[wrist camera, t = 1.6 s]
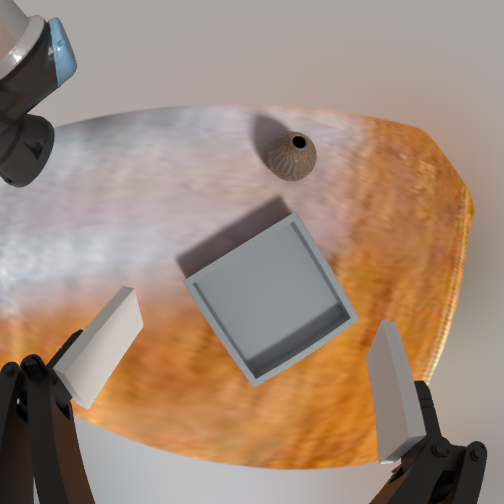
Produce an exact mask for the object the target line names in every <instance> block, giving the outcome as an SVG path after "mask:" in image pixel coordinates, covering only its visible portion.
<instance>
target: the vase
mask: <svg viewBox="0 0 504 504" xmlns="http://www.w3.org/2000/svg"><path fill="white" fill-rule="evenodd" d="M268 163H269V166H270V168H271V170H272V171H273V173H274V174H275V175H276V176H278V177H279V178H281V179H283V180H287V181H296V180H300V179H302V178H304V177H306V176H307V175H308V174H309V173H310V172H311V171H312V169H313V168H314V166H315V163H316V149H315V146H314V144H313V142H312V141H311V140H310V139H309V138H308V137H307V136H305V135H304V134H302V133H299V132H286V133H283V134H281V135H279V136H278V137H277V138H276V139H275V140H274V141H273V142H272V143H271V145H270V147H269V151H268Z"/></svg>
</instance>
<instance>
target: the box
mask: <svg viewBox="0 0 504 504" xmlns="http://www.w3.org/2000/svg"><path fill="white" fill-rule="evenodd" d="M183 283H184V285H185V286H186V288H187V290H188V291H189V293H190V294H191V296H192V298H193V299H194V301H195V302H196V304H197V306H198V307H199V309H200V310H201V312H202V313H203V315H204V317H205V318H206V320H207V321H208V323H209V324H210V326H211V327H212V329H213V330H214V332H215V333H216V335H217V336H218V338H219V339H220V341H221V342H222V344H223V345H224V347H225V348H226V350H227V351H228V353H229V354H230V355H231V357H232V358H233V360H234V361H235V363H236V364H237V365H238V367H239V368H240V370H241V371H242V372H243V374H244V375H245V377H246V378H247V379H248V381H249V382H250V383H251V385H252V386H253V387H256V386H257V385H259V384H261V383H263V382H264V381H266V380H268V379H270V378H271V377H273V376H275V375H277V374H278V373H280V372H282V371H283V370H285V369H287V368H288V367H290V366H292V365H293V364H295V363H296V362H298V361H300V360H301V359H303V358H304V357H306V356H307V355H309V354H311V353H312V352H314V351H315V350H317V349H318V348H320V347H321V346H323V345H324V344H326V343H327V342H329V341H330V340H331V339H333V338H334V337H336V336H337V335H339V334H340V333H341V332H343V331H344V330H346V329H347V328H348V327H350V326H351V325H353V324H354V323H355V322H357V321H358V320H359V318H358V316H357V314H356V312H355V311H354V309H353V307H352V305H351V303H350V301H349V300H348V298H347V296H346V294H345V292H344V291H343V289H342V287H341V285H340V284H339V282H338V280H337V278H336V277H335V275H334V273H333V271H332V270H331V268H330V266H329V265H328V263H327V261H326V259H325V258H324V256H323V254H322V253H321V251H320V249H319V248H318V246H317V244H316V243H315V241H314V239H313V238H312V236H311V235H310V233H309V231H308V230H307V228H306V226H305V225H304V223H303V222H302V220H301V218H300V217H299V215H298V214H297V212H294V213H292V214H291V215H289V216H287V217H286V218H284V219H282V220H281V221H279V222H278V223H276V224H274V225H273V226H271V227H269V228H268V229H266V230H264V231H263V232H261V233H260V234H258V235H256V236H255V237H253V238H251V239H250V240H248V241H247V242H245V243H243V244H242V245H240V246H238V247H237V248H235V249H234V250H232V251H230V252H229V253H227V254H226V255H224V256H222V257H221V258H219V259H217V260H216V261H214V262H213V263H211V264H209V265H208V266H206V267H205V268H203V269H201V270H200V271H198V272H197V273H195V274H193V275H192V276H190V277H189V278H187V279H185V280H184V281H183Z"/></svg>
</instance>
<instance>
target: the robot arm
mask: <svg viewBox="0 0 504 504" xmlns="http://www.w3.org/2000/svg"><path fill="white" fill-rule="evenodd" d="M76 69H77V63H76V60H75V56H74V53H73V50H72V48H71V45H70V42H69V40H68V37H67V35H66V32H65V30H64V28H63V25H62V23H61V21H60V20H59V19H58V18H53V19H50V20H49V21H48V22H46V21H45V20H44V19H43V18H42V17H41V16H38V15H37V16H31V17H27V16H26V15H25V14H24V13H23V12H22V10H21V9H20V8H19V7H18V6H17V5H16V3H15V2H14V1H13V0H0V176H1V177H2V179H3V180H4V181H5V182H6V183H8V184H9V185H12V186H15V187H23V186H26V185H28V184H29V183H31V182H32V181H33V180H34V179H35V178H36V177H37V176H38V175H39V173H40V172H41V171H42V169H43V168H44V166H45V164H46V162H47V160H48V158H49V156H50V153H51V150H52V147H53V142H54V130H53V127H52V125H51V123H50V122H49V121H47V120H46V119H45V118H43V117H41V116H35V115H31V114H27V113H28V112H29V111H30V110H31V109H32V108H34V107H35V106H36V105H37V104H38V103H39V102H41V101H42V100H43V99H44V98H46V97H47V96H48V95H49V94H51V93H52V92H53V91H55V90H56V89H57V88H59V87H60V86H61V85H62V84H63V83H64V82H65V81H66V80H68V79H69V78H70V77H71V76H72V75H73V74H74V72H75V71H76ZM142 327H143V322H142V318H141V314H140V310H139V306H138V302H137V298H136V293H135V289H134V288H129V287H125V286H123V287H122V288H121V289H120V291H119V292H118V293H117V294H116V295H115V296H114V297H113V298H112V299H111V300H110V301H109V303H108V304H107V305H106V306H105V307H104V308H103V309H102V310H101V311H100V313H99V314H98V315H97V316H96V317H95V318H94V319H93V321H92V322H91V323H90V324H89V325H88V326H87V327H86V329H85V330H84V331H83V330H81V329H80V330H78V331H77V332H75V333H74V334H72V335H71V336H70V338H69V339H68V340H67V342H65V343H64V345H63V346H62V348H60V349H59V351H58V352H57V353H56V354H55V355H54V357H53V358H52V359H51V360H50V362H49V363H48V364H47V365H46V366H45V364H44V362H43V361H42V359H41V358H40V356H38V355H36V354H31V355H28V356H27V357H25V358H24V359H23V360H22V362H21V364H20V367H19V365H18V364H17V363H16V362H8V363H6V364H5V365H4V366H3V368H2V370H1V372H0V504H34V499H33V483H34V479H35V484H36V489H37V494H38V498H39V502H40V504H95V501H94V499H93V495H92V492H91V489H90V486H89V483H88V480H87V476H86V473H85V469H84V465H83V461H82V457H81V453H80V449H79V444H78V439H77V434H76V429H75V423H74V417H73V410H72V405H71V402H70V400H71V399H72V397H73V399H74V400H75V402H76V403H77V404H78V405H80V406H82V407H84V408H86V409H88V410H89V408H90V407H91V405H92V403H93V402H94V400H95V399H96V397H97V395H98V394H99V392H100V391H101V389H102V388H103V386H104V384H105V383H106V381H107V380H108V378H109V377H110V375H111V374H112V372H113V370H114V369H115V367H116V366H117V364H118V363H119V361H120V360H121V358H122V357H123V355H124V354H125V352H126V351H127V349H128V348H129V346H130V345H131V343H132V342H133V340H134V339H135V337H136V336H137V335H138V333H139V332H140V330H141V329H142ZM366 359H367V364H368V370H369V377H370V383H371V390H372V397H373V405H374V413H375V422H376V431H377V442H378V455H379V464H386V463H394V462H396V461H397V460H398V459H400V458H401V464H400V465H399V466H398V467H397V468H395V469H394V470H393V471H392V473H394V474H393V475H392V476H391V478H390V479H389V480H388V482H387V483H386V484H385V485H384V487H383V488H382V489H381V490H380V492H379V493H378V494H377V495H376V496H375V498H374V499H373V500H372V501H371V502H370V503H369V504H477V501H478V497H479V493H480V489H481V485H482V481H483V476H484V471H485V466H486V460H487V450H486V447H485V445H484V444H482V443H481V442H479V441H475V442H472V443H470V444H469V445H468V446H467V447H464V446H457V445H452V444H450V442H449V441H448V440H447V439H446V438H444V437H442V435H441V432H440V428H439V423H438V419H437V415H436V411H435V408H434V404H433V400H432V397H431V393H430V390H429V388H428V386H427V385H426V384H425V382H424V381H423V380H422V381H414V380H413V377H412V373H411V370H410V366H409V363H408V359H407V356H406V353H405V350H404V347H403V344H402V340H401V337H400V334H399V332H398V329H397V326H396V323H395V321H381V324H380V326H379V329H378V331H377V334H376V336H375V338H374V341H373V343H372V346H371V348H370V350H369V352H368V355H367V357H366ZM17 399H19V403H18V404H17ZM33 478H34V479H33Z"/></svg>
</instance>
